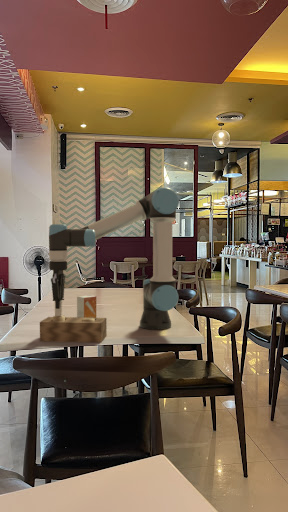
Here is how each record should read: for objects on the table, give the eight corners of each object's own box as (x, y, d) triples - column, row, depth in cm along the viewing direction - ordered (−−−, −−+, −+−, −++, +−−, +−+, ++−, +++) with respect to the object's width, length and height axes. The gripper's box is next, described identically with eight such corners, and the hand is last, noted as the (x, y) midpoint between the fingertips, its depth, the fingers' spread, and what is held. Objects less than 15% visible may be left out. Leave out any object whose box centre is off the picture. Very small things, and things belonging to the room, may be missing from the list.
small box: (84, 323, 203) (83, 297, 202) (76, 321, 207) (76, 296, 207) (96, 321, 208) (96, 296, 208) (89, 319, 213) (89, 294, 212)
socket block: (106, 336, 176) (106, 317, 176) (101, 342, 165) (101, 323, 165) (48, 334, 179) (48, 316, 178) (39, 341, 168) (39, 322, 168)
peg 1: (66, 333, 175) (66, 315, 175) (63, 336, 170) (62, 317, 170) (55, 333, 175) (55, 315, 175) (51, 336, 170) (51, 317, 170)
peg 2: (96, 336, 174) (95, 318, 173) (93, 339, 169) (93, 320, 168) (84, 336, 174) (84, 317, 174) (81, 339, 169) (81, 320, 169)
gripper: (54, 259, 178) (54, 312, 179) (44, 261, 165) (44, 318, 166) (71, 259, 177) (71, 313, 178) (62, 261, 164) (62, 319, 165)
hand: (58, 315), depth 172 cm, fingers closed
